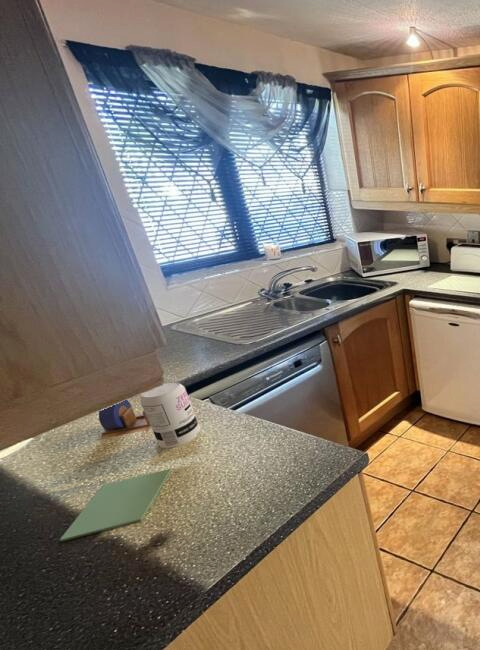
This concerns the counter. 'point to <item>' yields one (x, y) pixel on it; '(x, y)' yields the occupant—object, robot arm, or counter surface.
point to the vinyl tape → (114, 416)
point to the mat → (117, 505)
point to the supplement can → (170, 414)
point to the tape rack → (129, 424)
